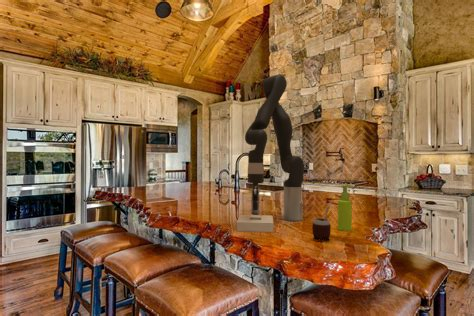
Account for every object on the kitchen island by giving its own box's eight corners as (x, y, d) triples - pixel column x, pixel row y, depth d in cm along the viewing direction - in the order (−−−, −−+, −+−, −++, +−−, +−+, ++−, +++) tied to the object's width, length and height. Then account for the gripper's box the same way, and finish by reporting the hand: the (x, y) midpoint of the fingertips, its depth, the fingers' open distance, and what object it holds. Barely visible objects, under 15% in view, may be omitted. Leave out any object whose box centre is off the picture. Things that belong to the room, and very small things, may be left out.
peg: (259, 213, 139) (259, 195, 138) (259, 214, 135) (259, 196, 135) (251, 213, 139) (251, 195, 139) (251, 214, 135) (251, 196, 135)
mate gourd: (311, 241, 115) (311, 202, 115) (313, 235, 123) (313, 200, 123) (331, 243, 113) (331, 204, 113) (332, 237, 120) (332, 201, 120)
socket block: (272, 223, 144) (272, 215, 144) (273, 232, 128) (273, 223, 128) (239, 222, 146) (239, 214, 146) (236, 231, 130) (236, 222, 130)
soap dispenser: (352, 232, 129) (352, 186, 129) (336, 229, 133) (336, 185, 133) (355, 229, 134) (355, 185, 134) (339, 227, 138) (339, 184, 138)
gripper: (263, 173, 129) (263, 212, 130) (263, 171, 144) (263, 207, 144) (246, 173, 130) (246, 212, 130) (248, 171, 144) (248, 206, 144)
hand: (255, 209), depth 137 cm, fingers closed on peg, 3 cm apart
